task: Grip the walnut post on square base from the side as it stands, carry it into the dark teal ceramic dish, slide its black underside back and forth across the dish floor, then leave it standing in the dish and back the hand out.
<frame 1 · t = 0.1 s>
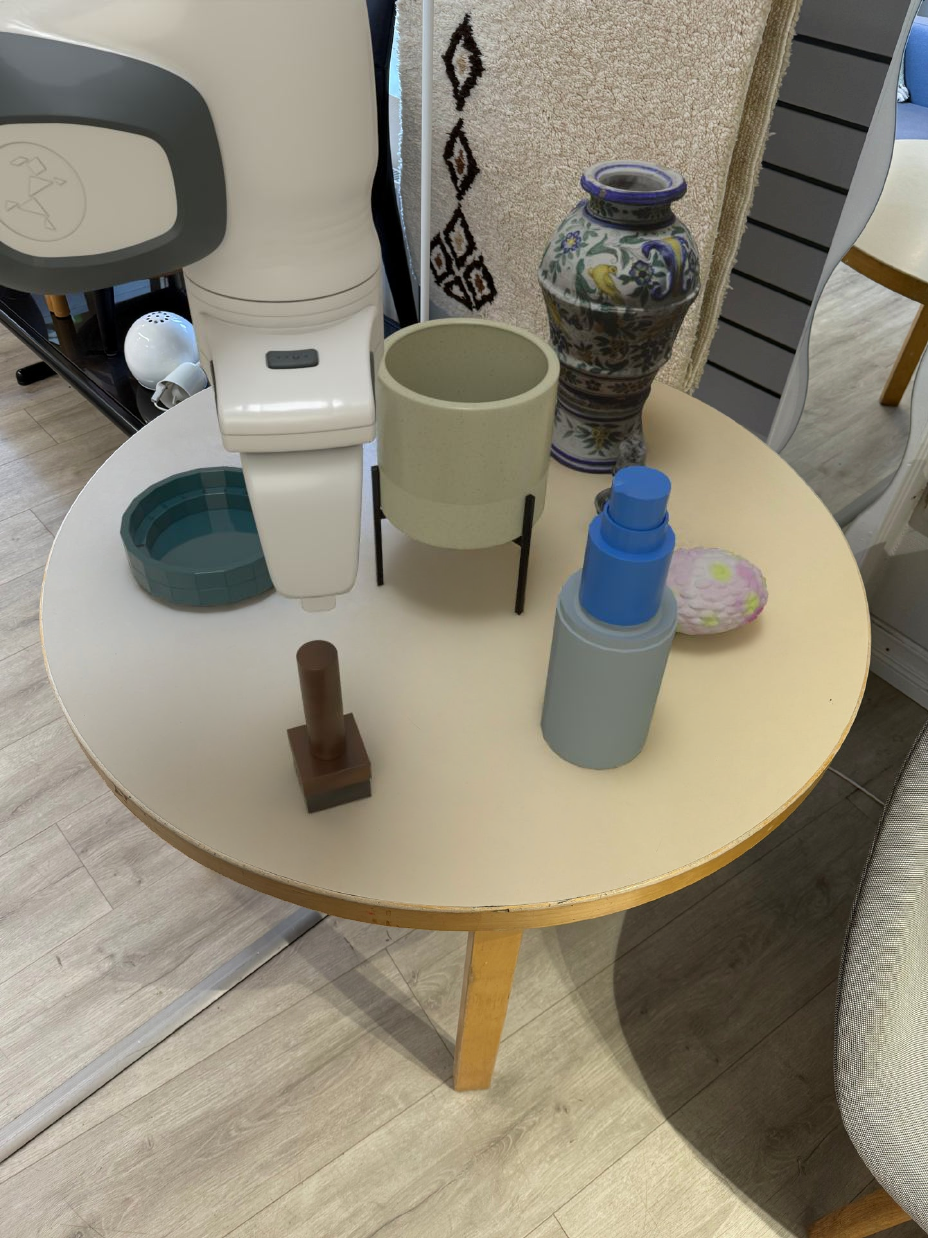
hand: (313, 547, 52), 25 cm above the table, tool pointing down, fingers open, 8 cm apart
decorative item: (692, 621, 86), on the table
post on square base: (332, 780, 71), on the table
planter: (456, 574, 90), on the table
dish: (218, 555, 90), on the table
spray bottle: (593, 727, 76), on the table
vase: (593, 446, 107), on the table
salt shaker: (617, 532, 95), on the table
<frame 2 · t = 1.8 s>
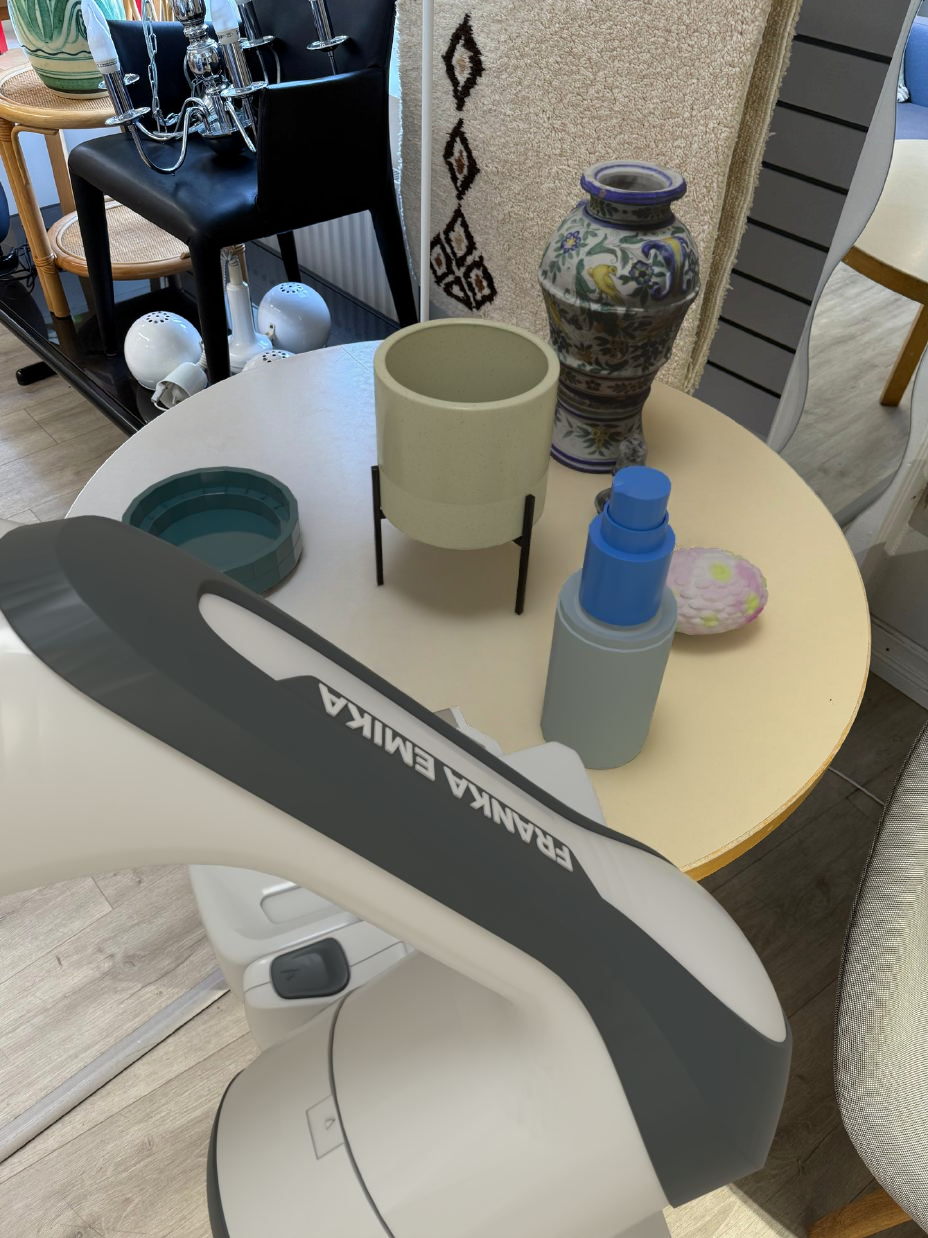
hand: (363, 737, 50), 20 cm above the table, tool horizontal, fingers open, 8 cm apart
nothing on the table moved.
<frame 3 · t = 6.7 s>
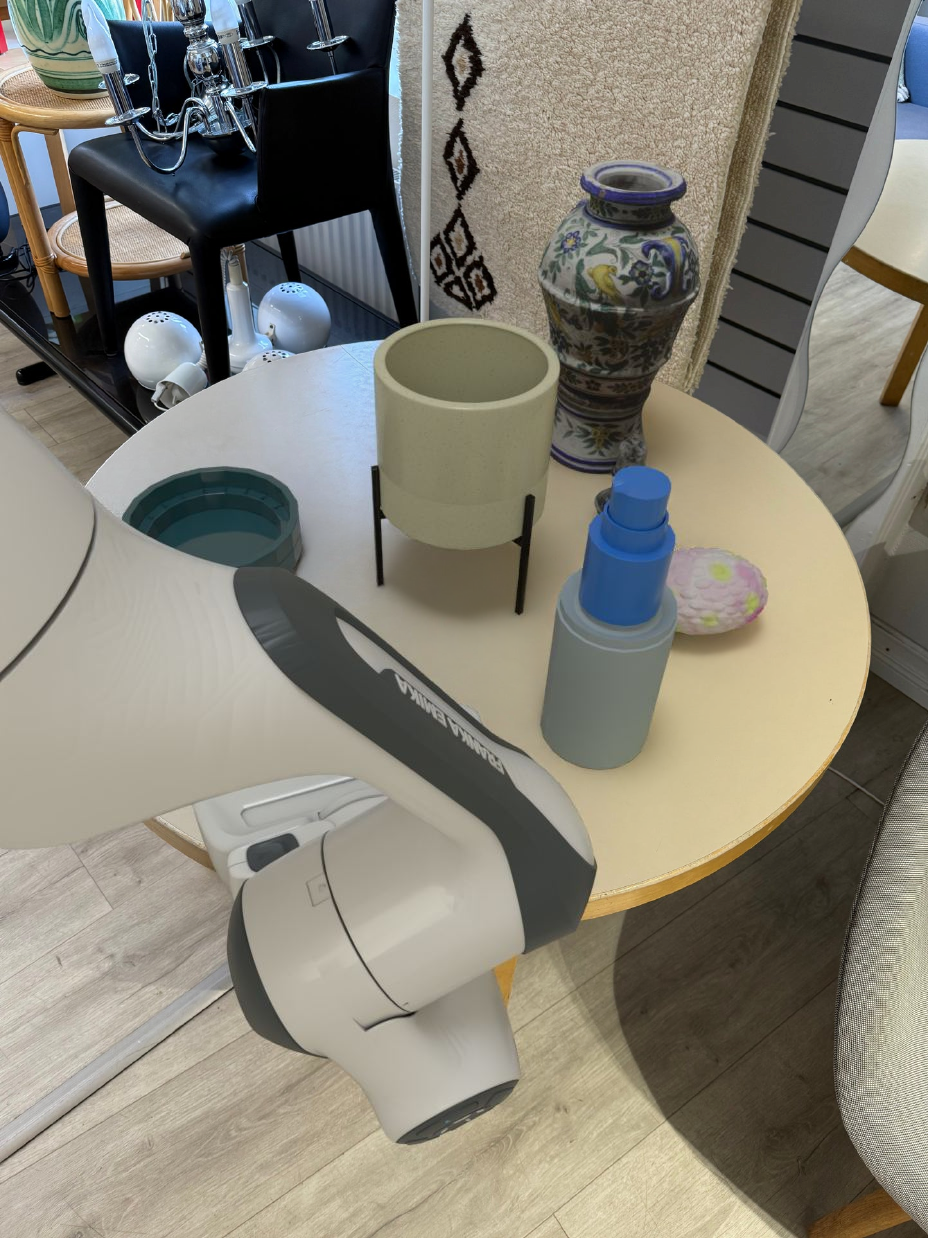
hand: (320, 701, 66), 9 cm above the table, tool horizontal, fingers closed on post on square base, 3 cm apart
post on square base: (332, 780, 71), on the table, touching gripper
everything else where it was.
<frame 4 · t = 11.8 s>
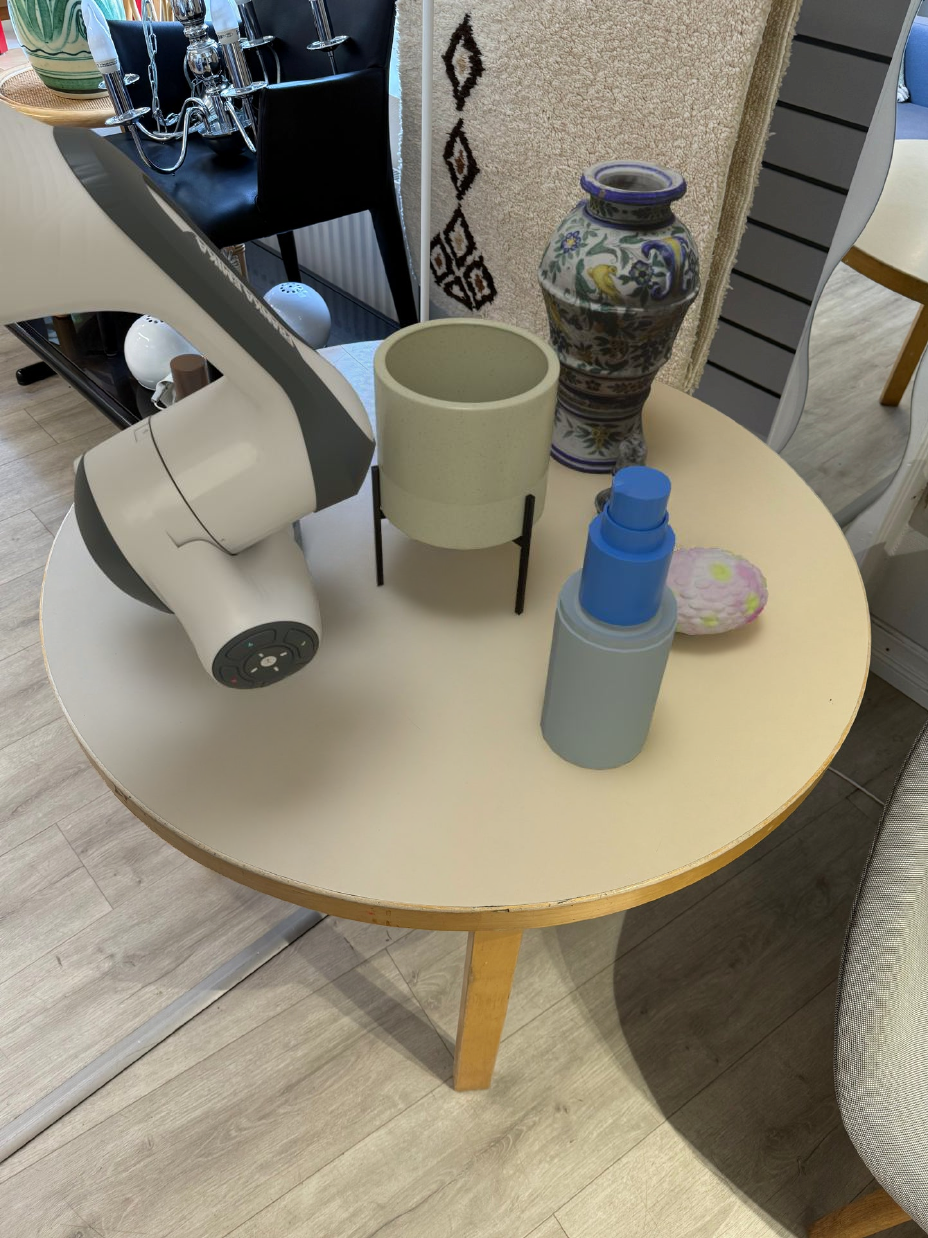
hand: (198, 420, 77), 17 cm above the table, tool horizontal, fingers closed on post on square base, 3 cm apart
post on square base: (216, 506, 82), point 8 cm above the table, touching gripper
everything else where it was.
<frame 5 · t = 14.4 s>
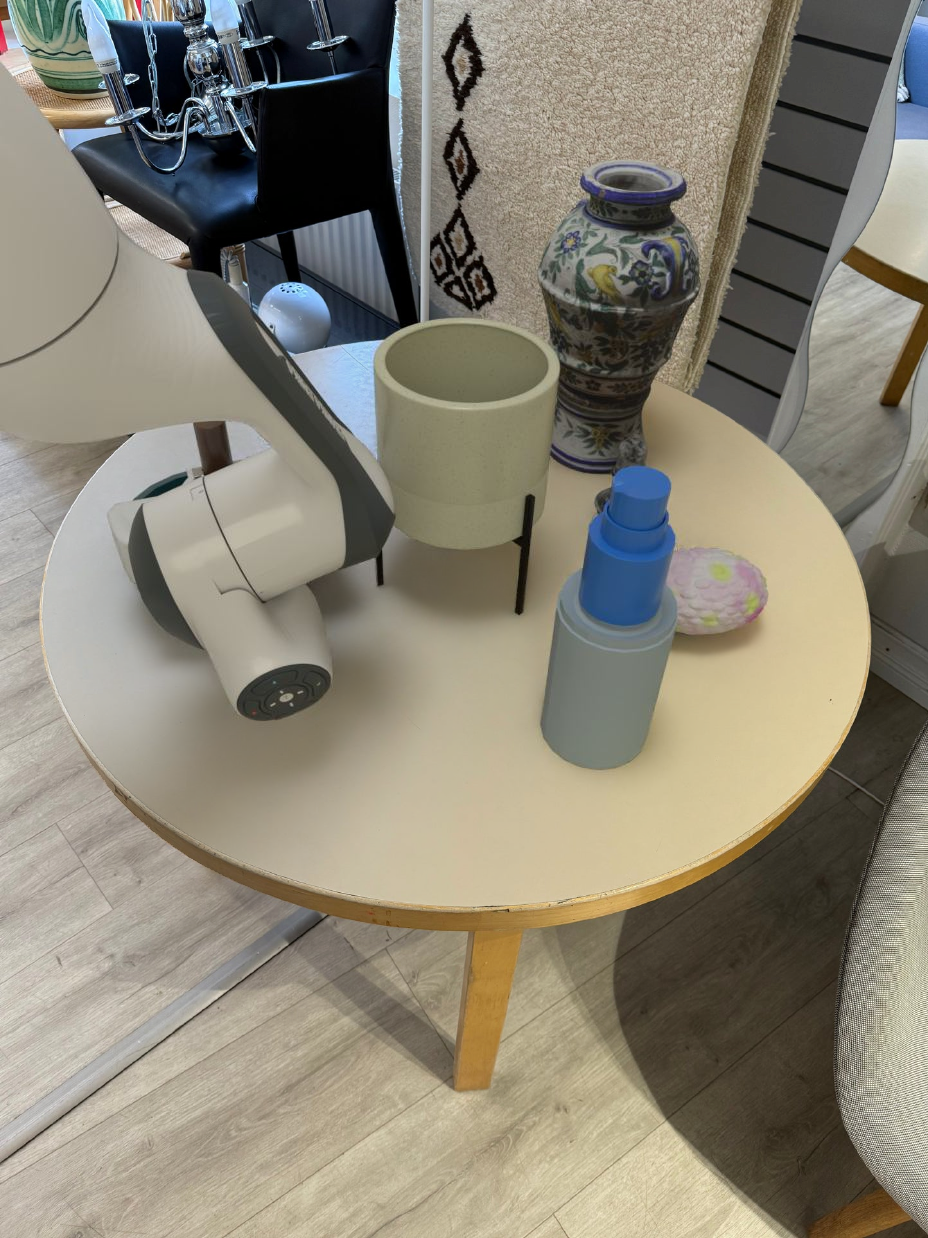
hand: (217, 469, 84), 10 cm above the table, tool horizontal, fingers closed on post on square base, 3 cm apart
post on square base: (233, 546, 90), point 1 cm above the table, touching gripper
everything else where it was.
when the fingers open (9 cm above the table, at t = 16.9 s): post on square base stays where it is, resting on dish.
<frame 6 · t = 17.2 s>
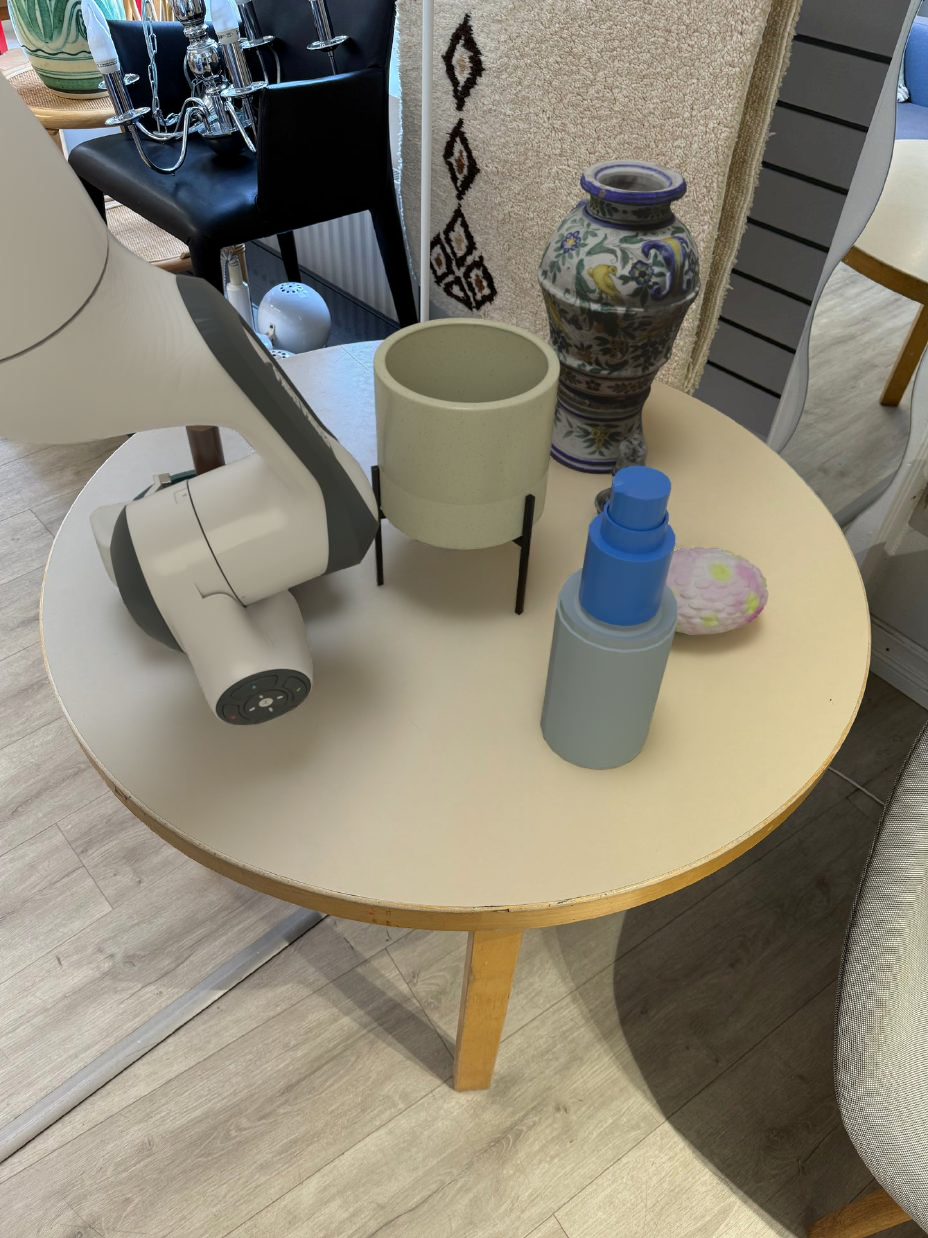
hand: (201, 473, 84), 9 cm above the table, tool horizontal, fingers open, 6 cm apart
post on square base: (226, 548, 90), point 1 cm above the table, touching dish
everything else where it was.
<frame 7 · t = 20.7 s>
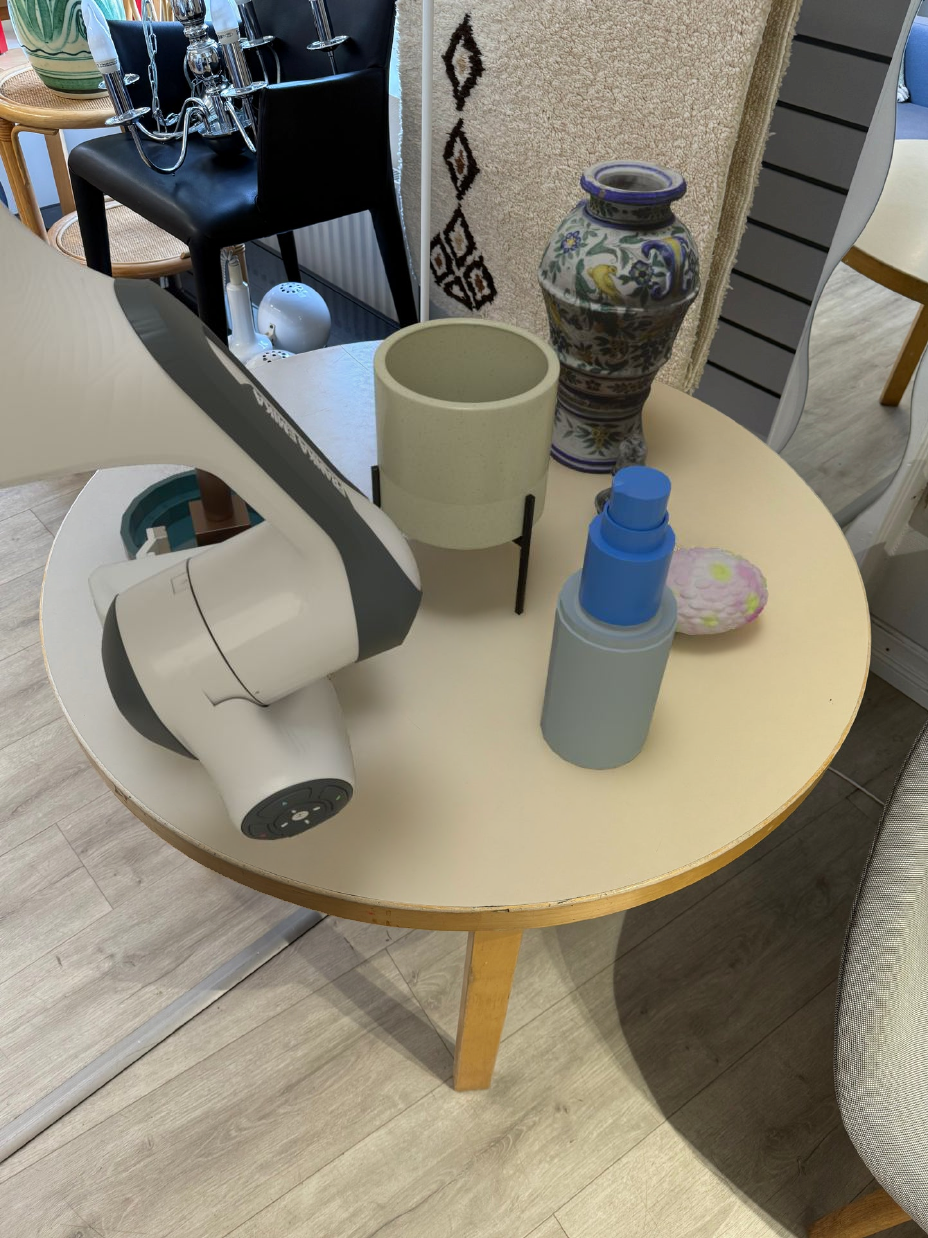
hand: (216, 522, 74), 13 cm above the table, tool horizontal, fingers open, 8 cm apart
nothing on the table moved.
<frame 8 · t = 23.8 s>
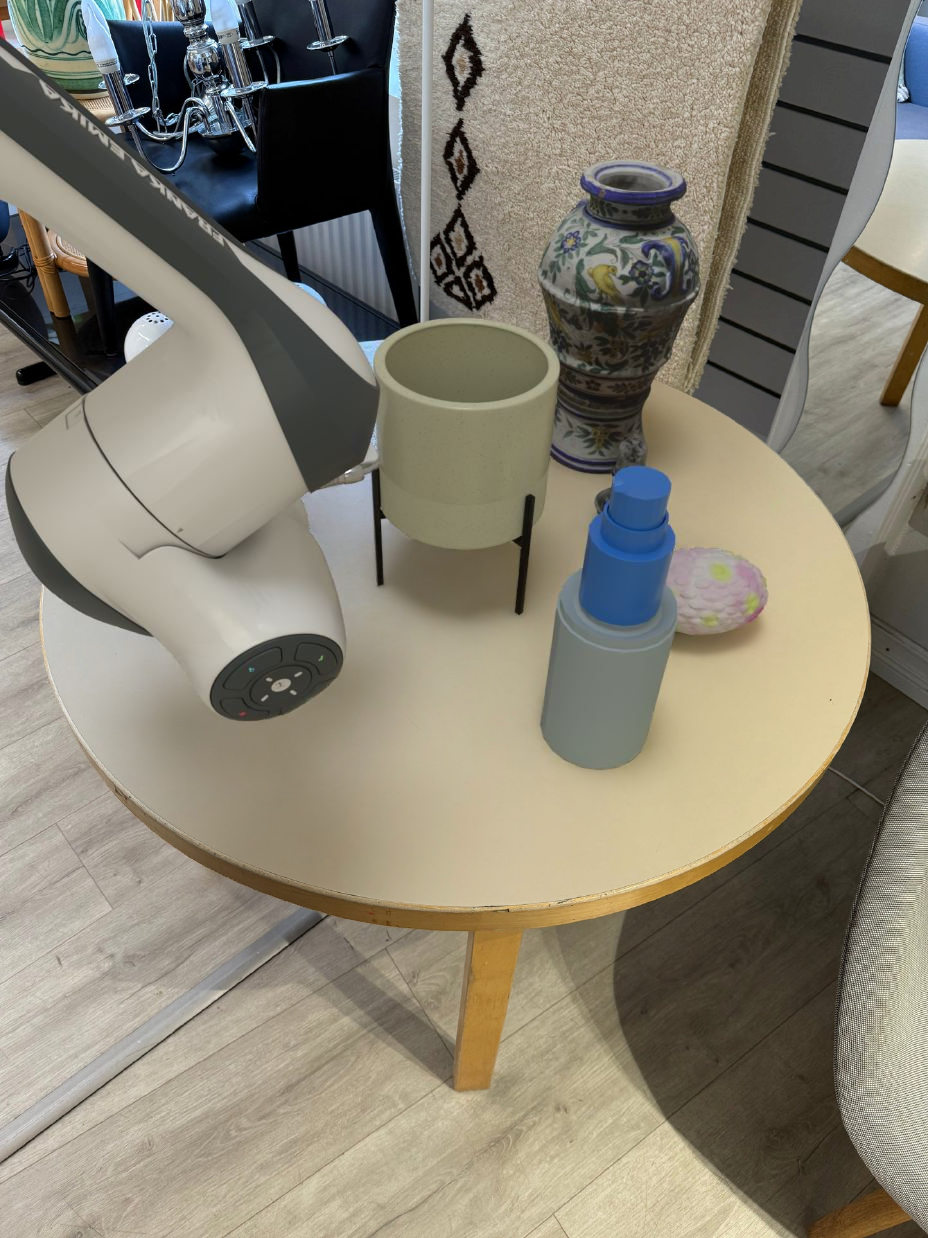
hand: (192, 392, 65), 25 cm above the table, tool horizontal, fingers open, 8 cm apart
nothing on the table moved.
at the end: post on square base inside the target area in the dish (0.9 cm from its centre), point 1.0 cm above the dish's base; post on square base tilted 0°; post on square base moved 30.0 cm from its start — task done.
